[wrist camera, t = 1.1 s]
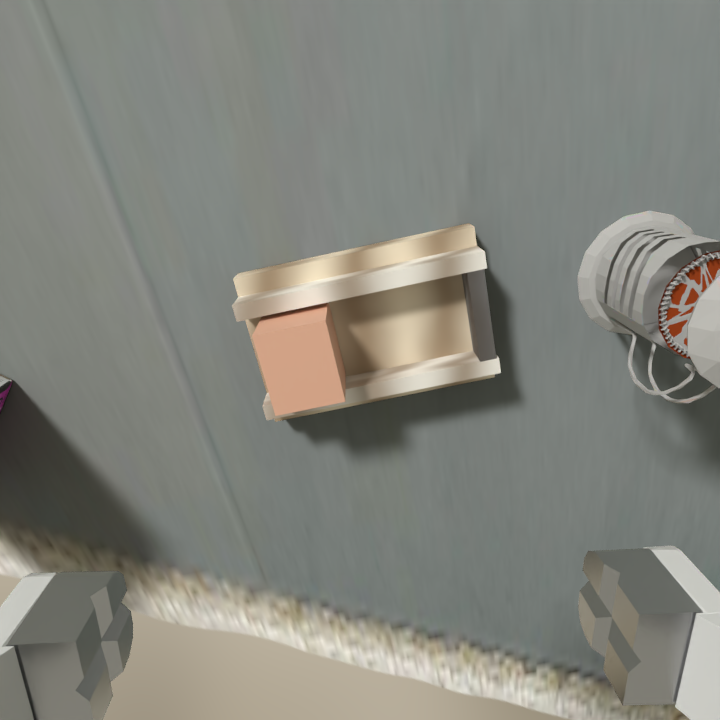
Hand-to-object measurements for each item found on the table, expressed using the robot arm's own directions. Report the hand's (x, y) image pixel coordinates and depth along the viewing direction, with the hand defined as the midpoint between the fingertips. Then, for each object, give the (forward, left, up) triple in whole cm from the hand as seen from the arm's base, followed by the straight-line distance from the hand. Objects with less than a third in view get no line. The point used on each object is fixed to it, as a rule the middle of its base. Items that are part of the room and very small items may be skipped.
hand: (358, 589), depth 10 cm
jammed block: (+7, +2, -33) cm, 34 cm away
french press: (-15, +17, -35) cm, 42 cm away
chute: (+3, +5, -35) cm, 35 cm away
